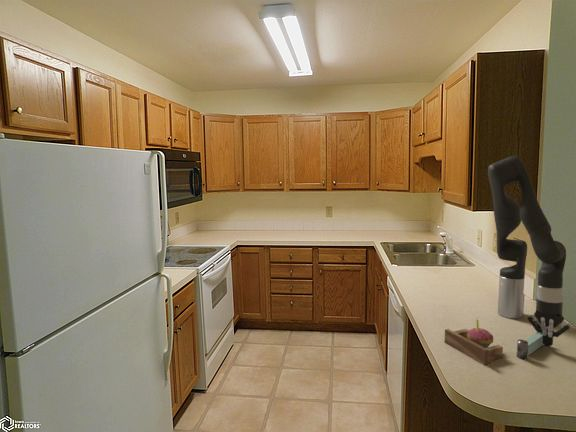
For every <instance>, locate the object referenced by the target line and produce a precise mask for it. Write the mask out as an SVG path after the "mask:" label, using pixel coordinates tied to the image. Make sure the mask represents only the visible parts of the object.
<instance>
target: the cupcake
mask: <svg viewBox="0 0 576 432" xmlns="http://www.w3.org/2000/svg"><path fill="white" fill-rule="evenodd" d="M475 322H476V323H475V324H476V327H475V328H471V329H468V330H469V331H468V332H467V338H468V339H469V340H471V341H473V342H475V343H477V344H478V345H480V346H482V347H484V348H487V347H490V346H491V344H493V343H494V336H493V334H492V333H491V332H489V331H488V330H487V329H485V328H481V327H480V326H479V319H478V318H476V320H475Z"/></svg>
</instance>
